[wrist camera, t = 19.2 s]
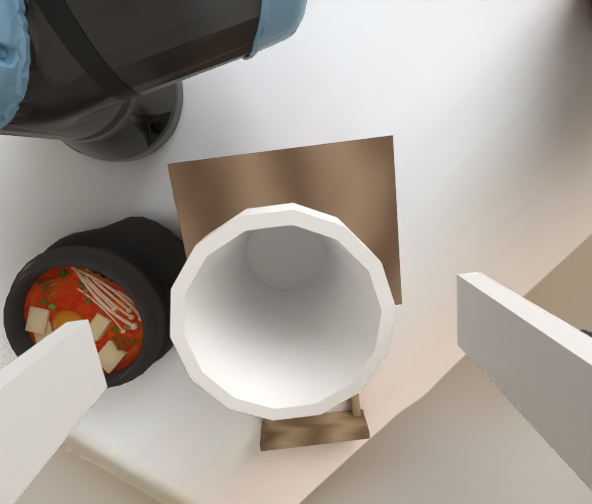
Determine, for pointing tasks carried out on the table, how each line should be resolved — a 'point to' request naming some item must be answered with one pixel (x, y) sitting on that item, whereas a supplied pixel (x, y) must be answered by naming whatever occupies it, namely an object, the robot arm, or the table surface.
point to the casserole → (102, 294)
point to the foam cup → (282, 313)
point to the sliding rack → (315, 429)
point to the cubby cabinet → (298, 192)
